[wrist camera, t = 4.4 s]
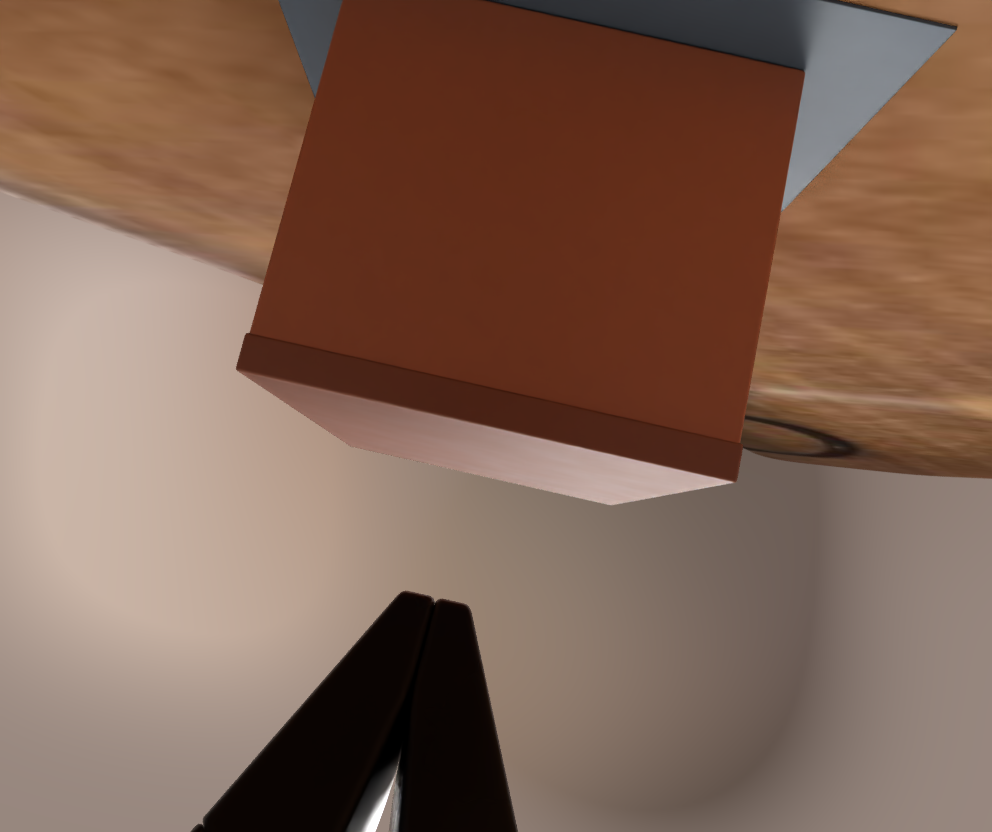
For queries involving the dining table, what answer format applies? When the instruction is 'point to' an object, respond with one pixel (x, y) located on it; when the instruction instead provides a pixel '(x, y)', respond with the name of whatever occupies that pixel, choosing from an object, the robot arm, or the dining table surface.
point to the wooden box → (528, 248)
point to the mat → (739, 52)
